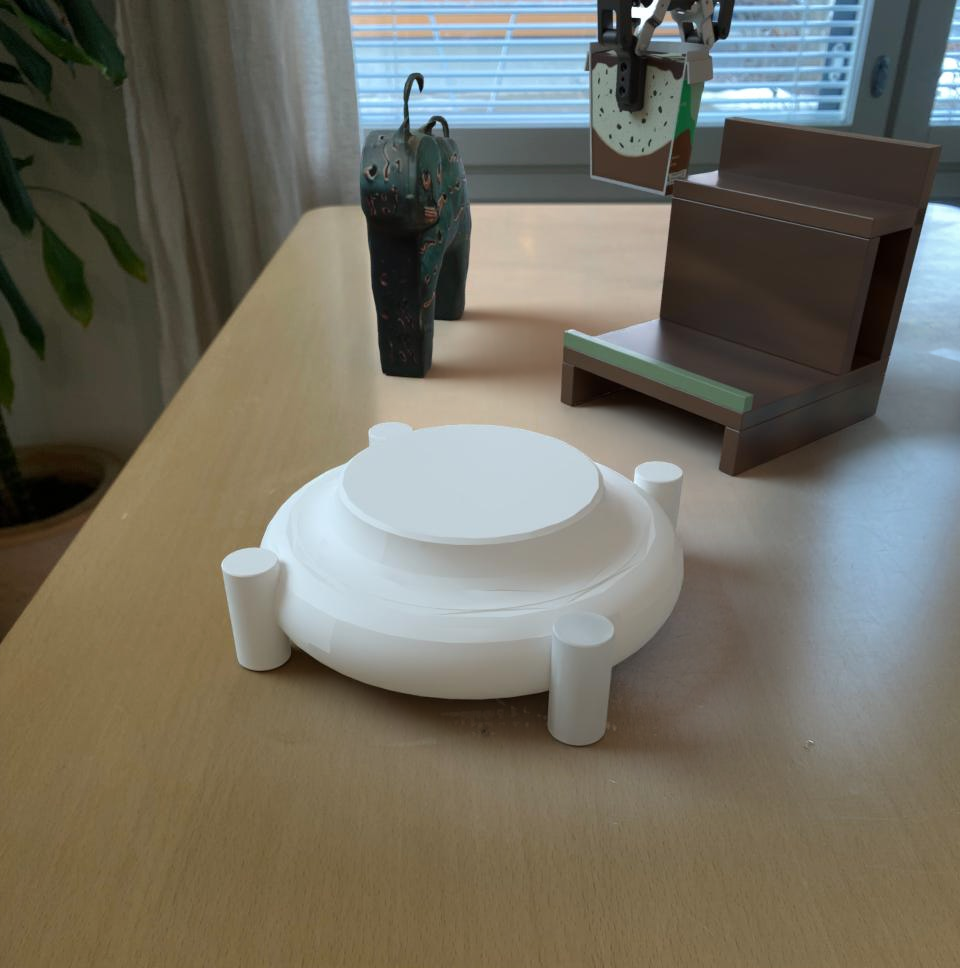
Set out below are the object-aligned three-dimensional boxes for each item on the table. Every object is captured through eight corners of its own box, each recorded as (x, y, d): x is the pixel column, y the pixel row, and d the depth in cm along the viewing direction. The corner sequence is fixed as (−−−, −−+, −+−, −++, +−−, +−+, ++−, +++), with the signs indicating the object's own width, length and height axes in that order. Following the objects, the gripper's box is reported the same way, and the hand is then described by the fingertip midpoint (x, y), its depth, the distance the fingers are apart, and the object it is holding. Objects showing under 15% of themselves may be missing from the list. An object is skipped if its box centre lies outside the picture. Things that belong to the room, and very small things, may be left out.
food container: (732, 189, 80) (751, 47, 74) (677, 199, 77) (692, 51, 71) (632, 167, 88) (641, 37, 82) (579, 175, 85) (585, 41, 80)
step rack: (703, 354, 80) (735, 116, 70) (875, 414, 70) (943, 145, 60) (560, 401, 72) (573, 138, 62) (732, 476, 62) (782, 177, 52)
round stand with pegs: (316, 834, 37) (295, 685, 33) (186, 545, 54) (162, 425, 50) (815, 671, 45) (849, 536, 41) (562, 467, 63) (568, 358, 59)
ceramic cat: (432, 387, 74) (423, 86, 62) (350, 381, 75) (326, 83, 64) (483, 309, 90) (484, 57, 78) (415, 305, 91) (406, 56, 79)
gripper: (652, -167, 64) (631, 121, 73) (787, -158, 71) (752, 103, 81) (572, -159, 68) (563, 110, 78) (707, -150, 76) (683, 95, 85)
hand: (659, 106), depth 79 cm, fingers closed on food container, 6 cm apart
